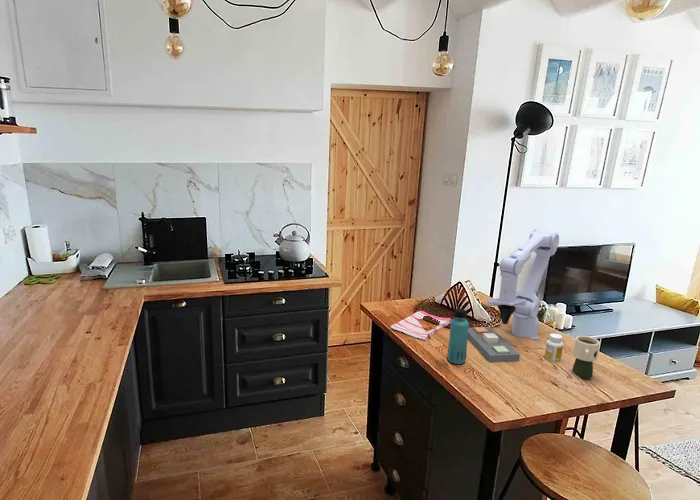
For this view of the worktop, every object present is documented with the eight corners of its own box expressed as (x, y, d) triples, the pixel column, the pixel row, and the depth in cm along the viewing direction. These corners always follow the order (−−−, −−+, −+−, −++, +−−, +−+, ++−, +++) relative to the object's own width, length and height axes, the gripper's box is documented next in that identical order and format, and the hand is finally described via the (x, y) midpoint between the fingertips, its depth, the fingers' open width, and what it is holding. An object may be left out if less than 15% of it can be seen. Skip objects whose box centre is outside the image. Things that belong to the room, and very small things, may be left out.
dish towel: (452, 325, 192) (453, 317, 191) (424, 342, 174) (425, 334, 173) (418, 315, 202) (418, 307, 201) (388, 330, 185) (389, 322, 184)
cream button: (492, 340, 171) (493, 332, 170) (497, 344, 167) (498, 337, 166) (482, 340, 171) (483, 333, 170) (487, 345, 166) (487, 337, 166)
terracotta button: (483, 333, 180) (483, 327, 179) (487, 338, 176) (488, 331, 175) (473, 334, 179) (473, 327, 178) (477, 338, 175) (478, 331, 174)
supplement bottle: (559, 358, 163) (563, 333, 161) (561, 365, 158) (565, 339, 156) (543, 356, 165) (547, 331, 162) (544, 362, 160) (548, 337, 158)
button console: (489, 335, 182) (490, 327, 181) (518, 363, 159) (519, 354, 158) (463, 335, 180) (464, 327, 179) (489, 364, 157) (490, 355, 156)
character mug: (594, 385, 145) (600, 348, 142) (570, 380, 148) (575, 344, 145) (593, 370, 155) (599, 336, 152) (570, 366, 158) (575, 331, 155)
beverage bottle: (455, 369, 153) (460, 315, 148) (442, 361, 159) (447, 308, 154) (469, 365, 156) (474, 312, 151) (457, 357, 162) (461, 305, 157)
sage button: (502, 353, 163) (503, 345, 163) (508, 358, 159) (509, 351, 158) (491, 353, 163) (492, 346, 162) (497, 359, 159) (498, 351, 158)
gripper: (494, 293, 162) (491, 327, 165) (532, 292, 164) (527, 326, 167) (486, 286, 169) (483, 320, 172) (522, 286, 171) (518, 319, 174)
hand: (504, 323), depth 170 cm, fingers closed
